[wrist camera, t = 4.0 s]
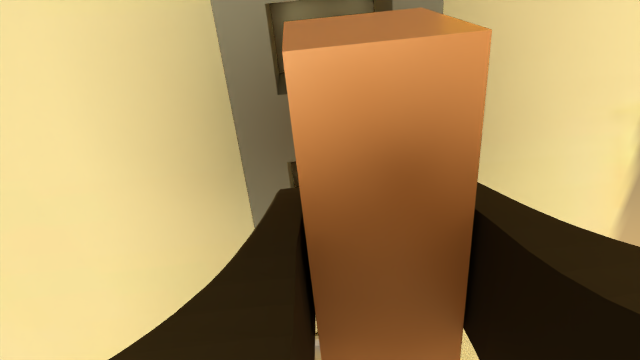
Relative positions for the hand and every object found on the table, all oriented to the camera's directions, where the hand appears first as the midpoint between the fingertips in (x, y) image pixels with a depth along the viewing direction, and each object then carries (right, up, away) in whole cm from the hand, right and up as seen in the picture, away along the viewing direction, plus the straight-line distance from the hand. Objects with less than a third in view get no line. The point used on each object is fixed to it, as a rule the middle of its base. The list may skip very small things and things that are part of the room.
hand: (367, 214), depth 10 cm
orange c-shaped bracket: (0, +2, +3) cm, 4 cm away
